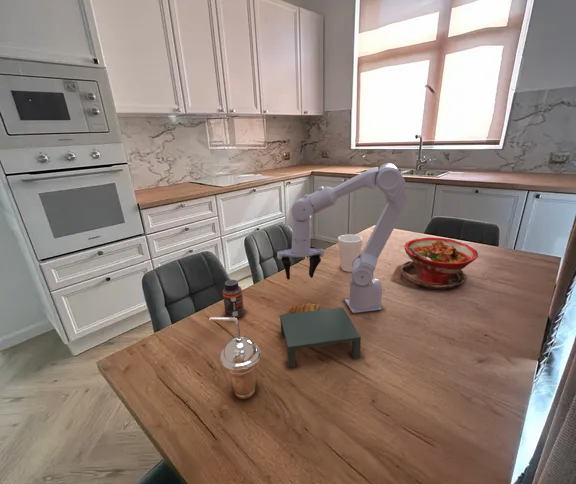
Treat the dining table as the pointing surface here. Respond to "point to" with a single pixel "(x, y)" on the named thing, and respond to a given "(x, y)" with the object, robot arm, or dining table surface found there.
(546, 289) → the dining table surface
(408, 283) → the stew
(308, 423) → the dining table surface
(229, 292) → the supplement bottle
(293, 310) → the pastry
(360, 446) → the dining table surface
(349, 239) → the foam cup
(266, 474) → the dining table surface
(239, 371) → the cup with straw
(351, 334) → the bench
